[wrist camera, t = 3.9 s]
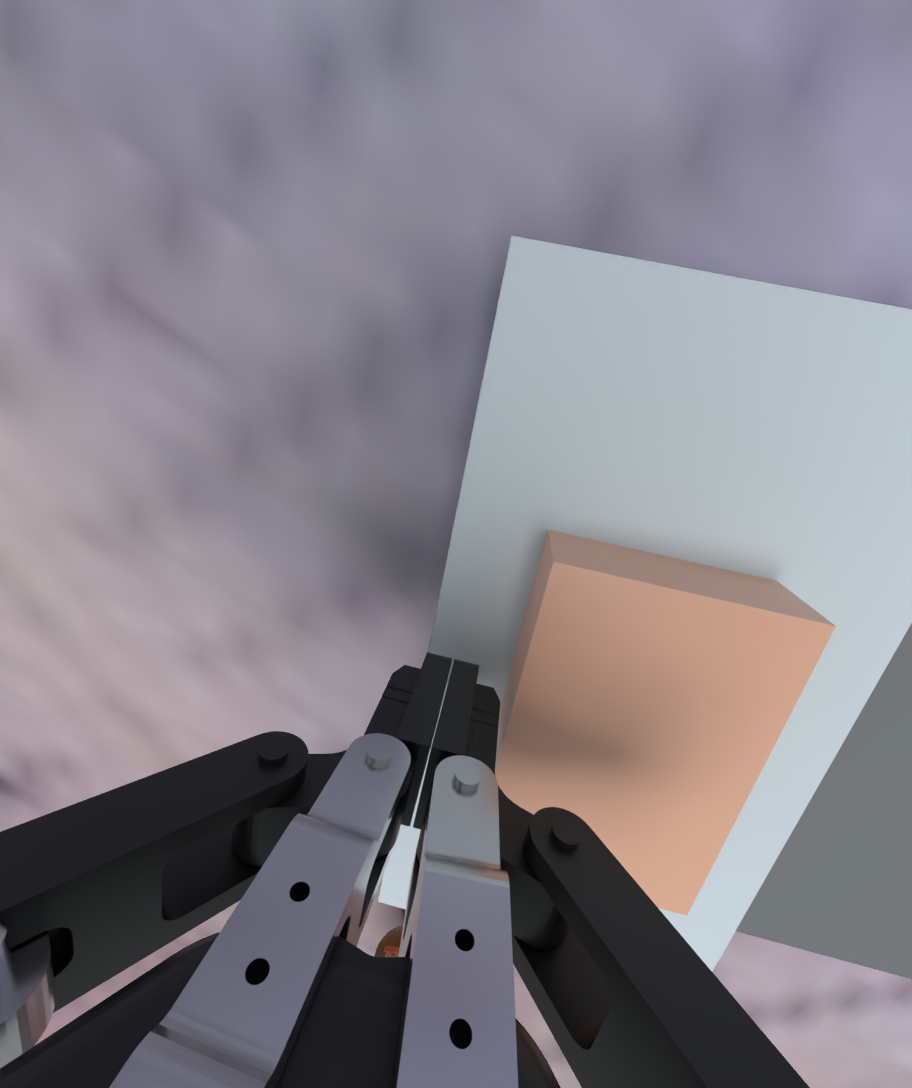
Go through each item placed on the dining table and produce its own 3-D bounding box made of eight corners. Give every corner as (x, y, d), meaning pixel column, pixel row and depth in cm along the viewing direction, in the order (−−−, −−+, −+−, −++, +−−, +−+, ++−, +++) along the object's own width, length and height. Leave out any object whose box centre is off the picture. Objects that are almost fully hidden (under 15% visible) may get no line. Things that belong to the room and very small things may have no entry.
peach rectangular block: (548, 530, 13) (552, 561, 11) (777, 580, 12) (835, 626, 10) (478, 786, 16) (470, 856, 13) (662, 835, 15) (687, 915, 13)
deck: (514, 274, 15) (511, 235, 11) (924, 352, 14) (1074, 339, 10) (403, 812, 22) (378, 901, 18) (668, 884, 21) (700, 992, 17)
